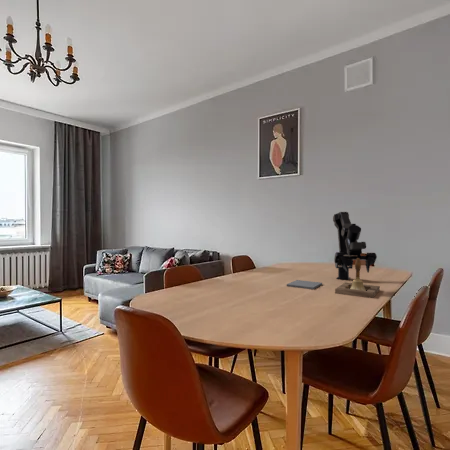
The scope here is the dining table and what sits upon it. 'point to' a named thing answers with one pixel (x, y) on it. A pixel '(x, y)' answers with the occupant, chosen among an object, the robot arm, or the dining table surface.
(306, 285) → the grey rubber mat
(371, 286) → the walnut well board
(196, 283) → the dining table surface
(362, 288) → the hand bell
